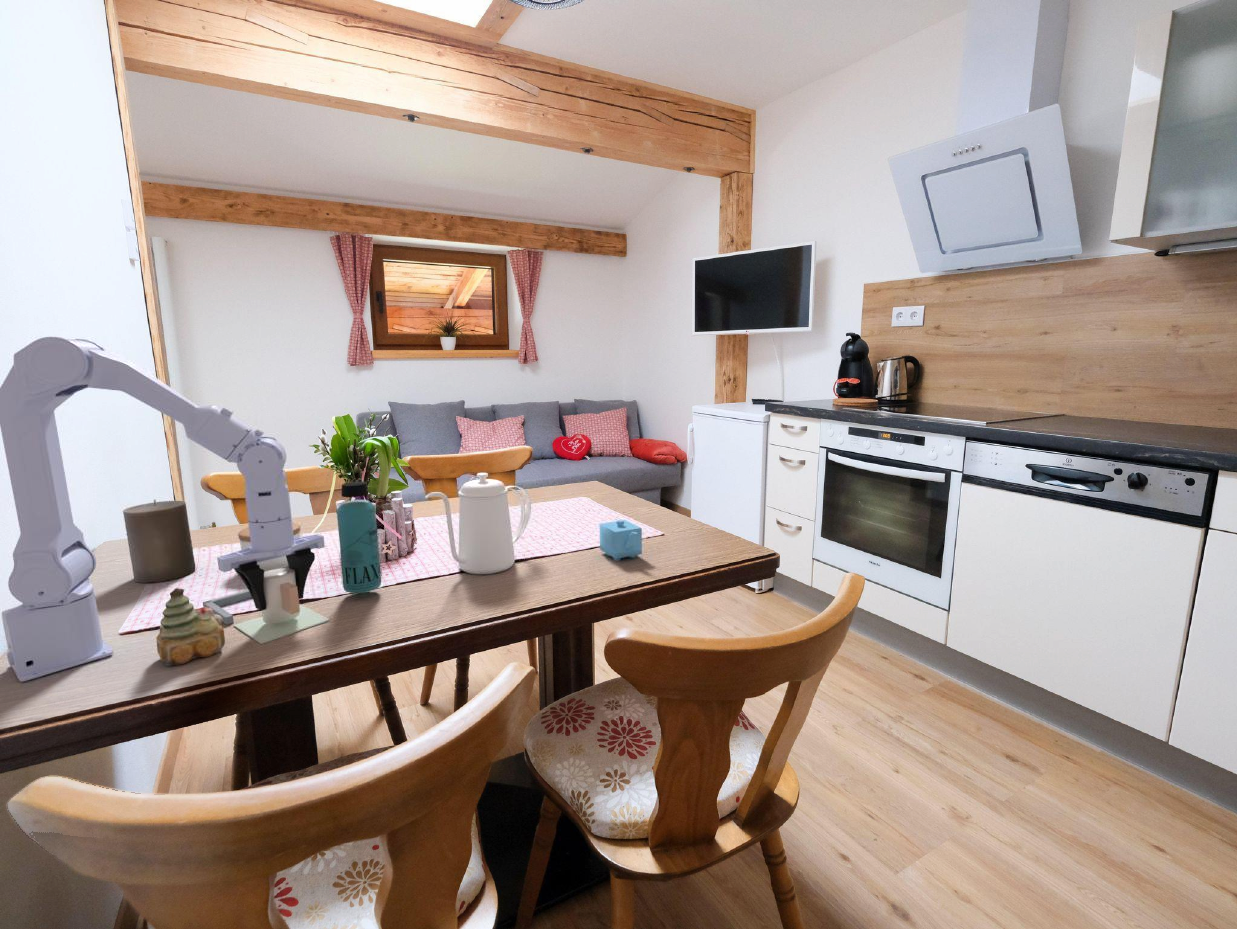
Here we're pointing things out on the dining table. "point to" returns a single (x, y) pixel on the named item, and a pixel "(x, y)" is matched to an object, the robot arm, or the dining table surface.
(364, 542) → the beverage bottle
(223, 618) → the cradle
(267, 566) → the lidded jar
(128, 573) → the dining table surface
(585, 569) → the dining table surface
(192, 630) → the ornament
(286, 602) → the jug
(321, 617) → the pad
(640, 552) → the teapot
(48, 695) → the dining table surface
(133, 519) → the pillar candle
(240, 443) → the robot arm
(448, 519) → the coffeepot
